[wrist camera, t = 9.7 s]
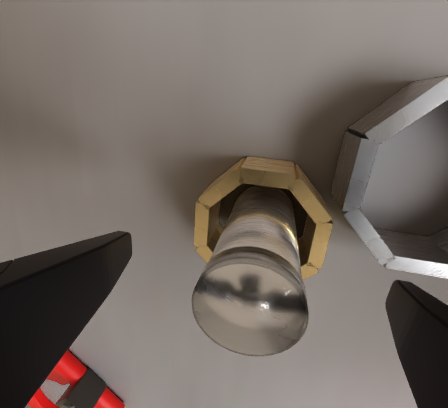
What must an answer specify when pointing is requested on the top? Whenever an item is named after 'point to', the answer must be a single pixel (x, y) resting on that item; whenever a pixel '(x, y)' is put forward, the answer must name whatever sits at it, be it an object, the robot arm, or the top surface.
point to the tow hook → (77, 387)
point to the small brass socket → (272, 177)
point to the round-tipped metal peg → (254, 278)
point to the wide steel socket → (360, 172)
